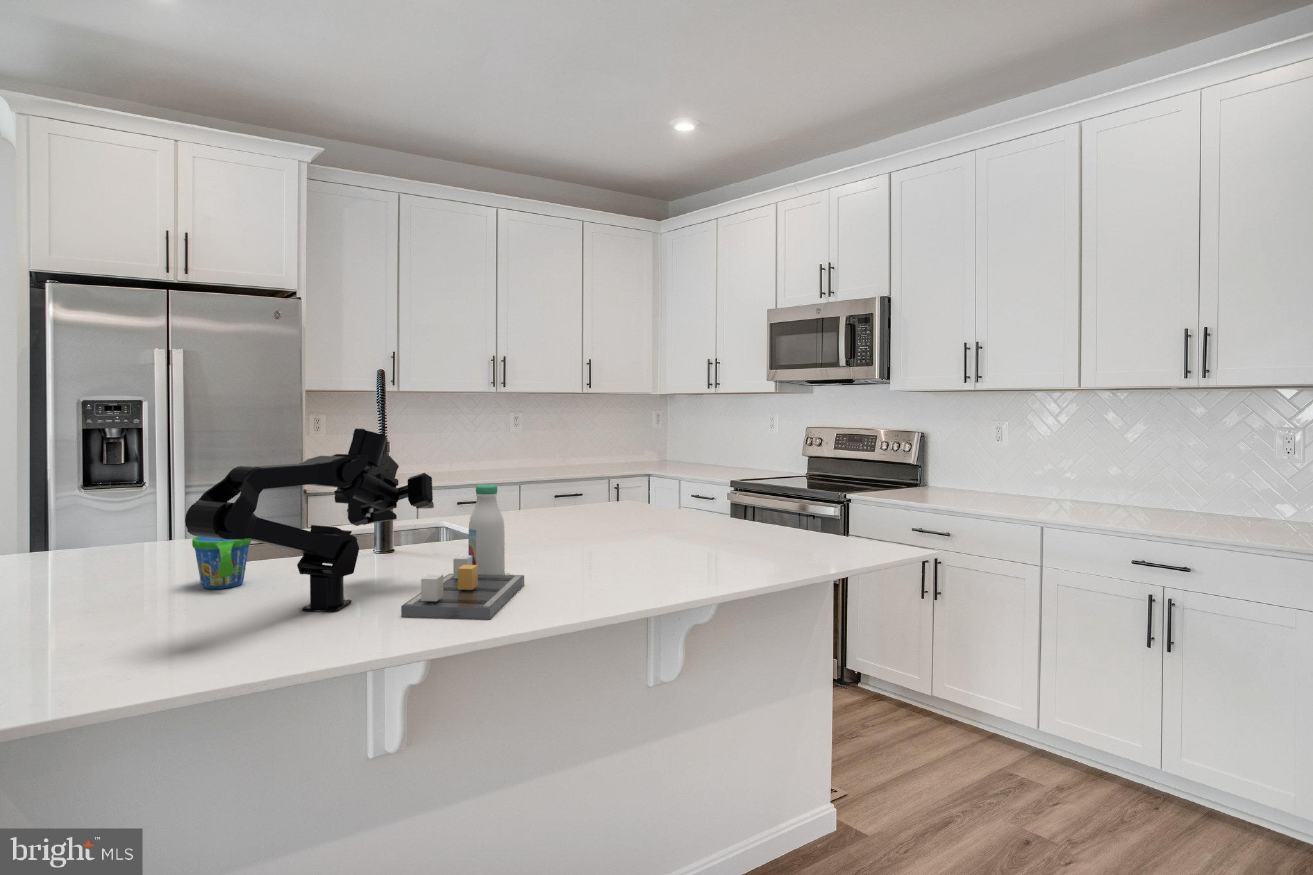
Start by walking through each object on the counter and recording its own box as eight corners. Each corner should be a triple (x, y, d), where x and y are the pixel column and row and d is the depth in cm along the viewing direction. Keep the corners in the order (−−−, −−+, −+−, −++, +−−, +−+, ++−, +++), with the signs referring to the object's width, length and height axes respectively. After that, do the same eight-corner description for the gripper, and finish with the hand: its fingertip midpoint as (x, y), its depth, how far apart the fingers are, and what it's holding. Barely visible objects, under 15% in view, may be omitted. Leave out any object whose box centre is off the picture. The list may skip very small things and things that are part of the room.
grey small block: (436, 601, 139) (436, 579, 139) (421, 600, 140) (421, 578, 139) (443, 596, 143) (443, 574, 143) (428, 595, 143) (428, 574, 143)
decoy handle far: (467, 578, 157) (466, 558, 157) (453, 578, 158) (453, 558, 157) (472, 574, 161) (472, 555, 161) (459, 574, 161) (459, 555, 161)
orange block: (472, 589, 148) (472, 568, 148) (457, 589, 148) (457, 568, 148) (477, 585, 152) (477, 564, 152) (463, 584, 152) (463, 564, 152)
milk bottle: (508, 573, 174) (508, 484, 173) (498, 580, 166) (498, 487, 165) (475, 571, 174) (475, 483, 173) (463, 579, 167) (463, 487, 166)
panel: (490, 619, 137) (490, 607, 137) (401, 617, 138) (401, 605, 138) (524, 584, 163) (524, 575, 163) (449, 582, 164) (449, 573, 163)
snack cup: (252, 591, 155) (251, 540, 154) (190, 597, 150) (189, 544, 149) (251, 575, 169) (251, 529, 168) (195, 580, 164) (194, 532, 163)
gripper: (406, 438, 154) (450, 465, 167) (328, 464, 158) (377, 489, 172) (408, 489, 149) (453, 513, 163) (326, 515, 153) (377, 536, 167)
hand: (414, 511), depth 166 cm, fingers open, 9 cm apart
